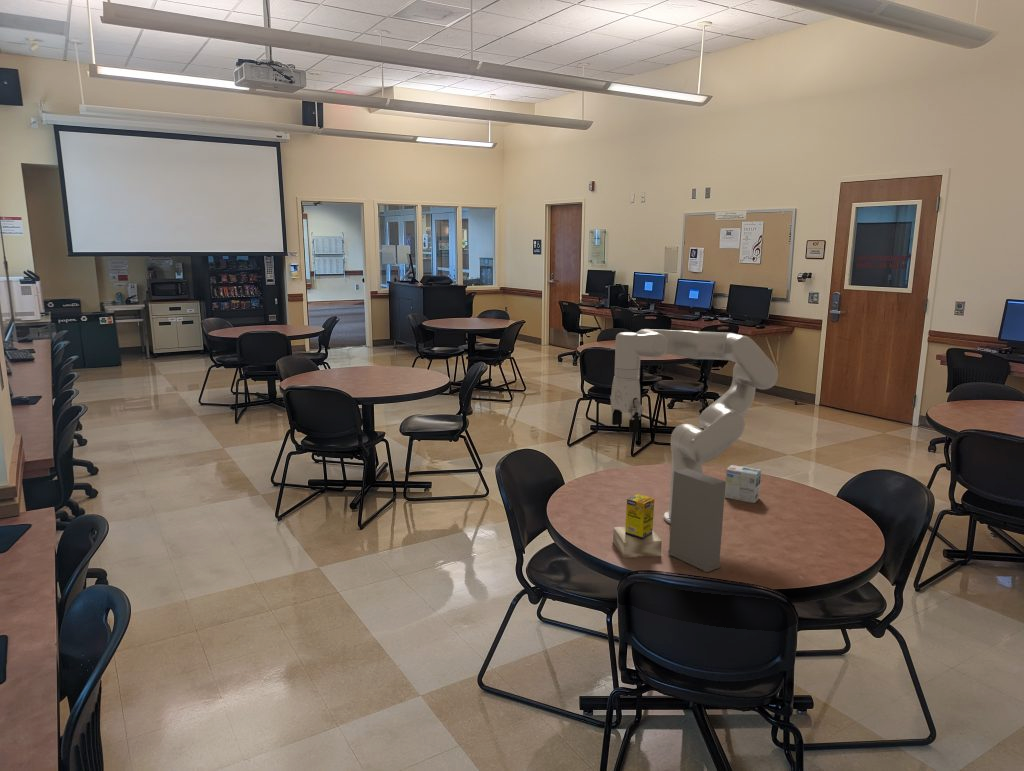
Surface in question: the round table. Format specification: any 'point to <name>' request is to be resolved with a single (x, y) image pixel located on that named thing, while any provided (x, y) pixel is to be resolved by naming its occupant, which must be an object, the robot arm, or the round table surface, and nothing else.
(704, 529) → the upright grey panel
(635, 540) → the birch block
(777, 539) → the round table surface
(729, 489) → the light bulb box
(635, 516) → the supplement box
